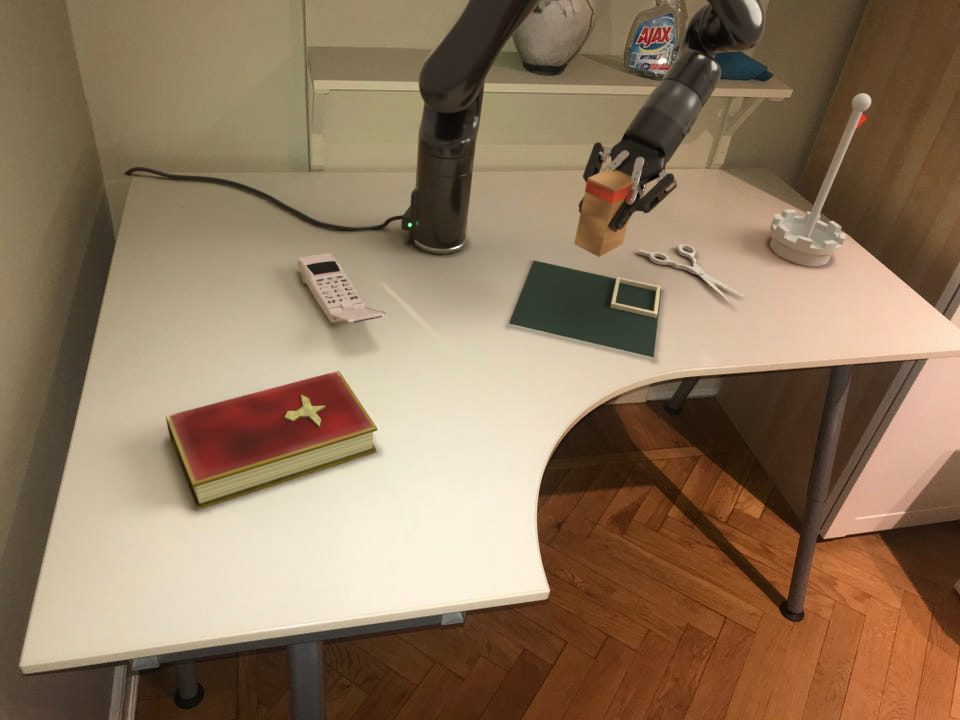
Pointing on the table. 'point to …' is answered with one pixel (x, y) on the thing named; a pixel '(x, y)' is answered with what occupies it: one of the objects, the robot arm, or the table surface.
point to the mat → (590, 308)
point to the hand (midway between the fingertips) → (597, 221)
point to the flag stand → (816, 210)
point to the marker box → (602, 212)
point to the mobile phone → (334, 290)
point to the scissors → (694, 269)
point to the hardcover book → (269, 437)
